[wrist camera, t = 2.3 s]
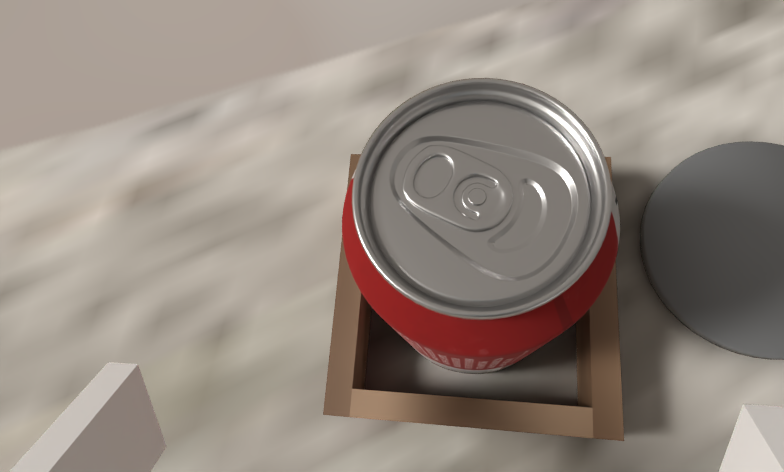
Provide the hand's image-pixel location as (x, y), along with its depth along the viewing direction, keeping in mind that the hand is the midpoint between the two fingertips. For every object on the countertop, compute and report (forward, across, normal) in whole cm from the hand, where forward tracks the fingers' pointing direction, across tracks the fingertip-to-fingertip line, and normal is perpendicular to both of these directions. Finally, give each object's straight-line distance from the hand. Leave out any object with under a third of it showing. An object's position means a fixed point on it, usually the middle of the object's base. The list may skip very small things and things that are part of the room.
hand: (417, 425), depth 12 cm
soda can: (+11, +1, -4) cm, 11 cm away
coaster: (+12, +13, -2) cm, 18 cm away
